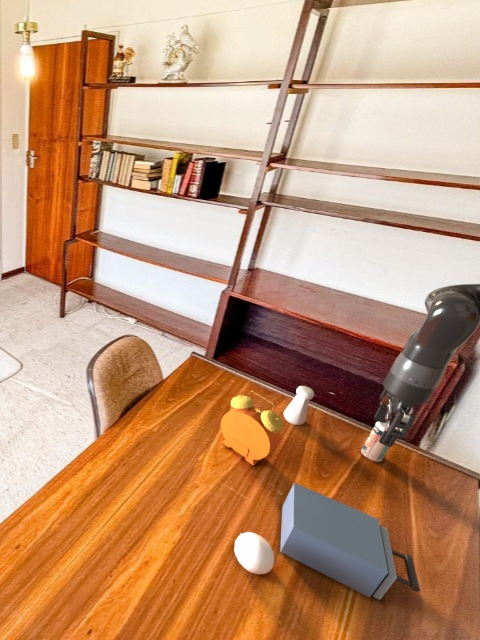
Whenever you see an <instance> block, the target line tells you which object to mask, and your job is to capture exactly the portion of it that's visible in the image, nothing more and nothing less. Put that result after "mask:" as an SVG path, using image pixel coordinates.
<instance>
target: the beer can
mask: <svg viewBox="0 0 480 640" xmlns="http://www.w3.org/2000/svg"><path fill="white" fill-rule="evenodd" d="M386 424H387V422H386V423H382V422H379V421H376V422H375V424H374V426H373V428H372V429H371V432H370V433H369V435H368V437H367V438H366V440H365V442H364V444H363V445H362V447H361V450H360V452H361V454H362V455H363V456H364V457H365V458H367V459H368V460H370V461H373V462H376V463H379V462H382V461H383V459H384V458H385V456H386V454H387V453H388V452H389V450H390V448H391V447H388V446H386V445H383V444H380V442H379V439H380V437H381V435H382V433H383V432H384V430H385V427H386ZM395 429H398V428H397V427H396V428H395Z"/></svg>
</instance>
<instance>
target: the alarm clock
mask: <svg viewBox="0 0 480 640" xmlns="http://www.w3.org/2000/svg"><path fill="white" fill-rule="evenodd" d="M251 392H252V393H253V394H255V395H257V396H258V397H260V398H262V399H264V400H265V401H267V402H268V403H270V404H272V405H273V407H272V409H271V410H270V409H269V410H264V409H262V408H260V407H259V406H256V405H255V401H254V400H253V398H252V397H250V394H251ZM230 406H231V407H232V409H231V410H229V411H228V412H226V413H225V414H223V416H222V418H221V420H220V430H221V434H222V436H223V438H224V440H223V441H221V443H222V444H224V446H226V447H227V448H231V449H232V450H234V452H236V453H237V454H239V455H241V456H242V457H243V458H244V459H245V461H246V462H247V463H249V464H251V465H252V466H255V465H256V464H257V463H258V462H259V461H261V460H262V459H264V458H266V457H268V456H269V454H271V453H272V452H273V451H274V450H275V449H276V448H277V447H278V446H279V444H280V440H281V433H280V432H281V431H282V430H283V428H284V422H283V419H282V417H281V416H280V415H279V414H278V413H276V411H274V408H275V404H274V402H271V401H270V400H269V399H267V398H265V397H263V396H262V395H260V394H258V393H257V392H255V391H253V390H250V391H249V393H248V395H241V394H239V395H238V396H234V397H232V398H231V400H230Z"/></svg>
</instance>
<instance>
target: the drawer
mask: <svg viewBox="0 0 480 640" xmlns="http://www.w3.org/2000/svg"><path fill="white" fill-rule="evenodd" d="M380 530H381V535H382V541H383V546H384V551H385V557H386V562H387V568H388V574H387V575H386V576H385V578H384V579H383V580H382V582H381V583H380V584H379V586H378V587H377V588H376V590H375V591H374V592H373V594H372V595H371V596H372V597H373V598H374V599H377V600H379V601H381V600H382V599H383V596H385V594H386V593H387V592H388V591H389V589H390V588H391V587H392V585H393V584H394V583H395V581H398V582H400V583H401V584H404V585H406V586H407V587H409V588H410V590H412V591H413V592H417V593H419V592H421V588H420V584H419V579H418V576H417V570H416V568H415V563H414V559H413V557H412V556H411V555H410V554H406V553H404V554H403V553H401V552H398V551H396V550H394V549H392V546H391V540H390V537H389V531H388V528H387V527H384V526H383V525H380ZM394 556H396V557H398V558H400V559H403V561H404V567H405V571H406V575H407V576H406V577H407V579H405V578H403V577H400V576H398V575H397V571H396V566H395V561H394V560H395V559H394Z"/></svg>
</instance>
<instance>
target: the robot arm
mask: <svg viewBox="0 0 480 640" xmlns="http://www.w3.org/2000/svg"><path fill="white" fill-rule="evenodd" d="M424 307H425V309H426V312H427V314H426V317H425V318H424V319H425V320H424V322H423V323H422V325H421V326H420V328H418V329H415V330H414V331H413V332H412V333H411V334H410V335H409V337H408V339H407V340H406V342H405V344H404V346H403V348H402V350H401V352H400V353H399V354H398V356H397V357H396V358H395V359H394V362H393V363H392V365H391V367H390V369H389V371H388V372H387V374H386V376H385V378H384V380H383V383H382V386H383V390H382V392H381V394H380V395H379V396H378V397H379V400H380V401H379V407H378V409H377V411H376V413H375V414H374V416H373V418H374V421H376V422H382V423H386V422H387V424H386V427H385V430H384V432H383V433H382V435H381V437H380V439H379V442H380V444H383V445H386V446H388V447H390V448H392V447H393V446H394V445H395V442H396V440H397V439H401V440H405V438H406V436H407V434H408V433H409V430H410V429H411V427H412V425H413V423H414V421H415V420H416V416H415V415H413V410H414V406H415V405H424V404H427V403H428V402H429V401H430V399H431V397H432V396H433V394H434V393H435V391H436V390H437V388H438V386H439V385H440V383H441V381H442V379H443V378H444V375H445V372H446V370H447V368H448V366H449V364H450V363H451V361H452V360H453V358H454V356H455V354H456V353H457V350H458V349H459V348H460V347H461V346H462V345H464V344H465V343H466V342H467V341H468V340H469V339H470V338H471V336H472V335H474V333H475V332H476V331H477V329H478V328H479V326H480V283H464V284H463V283H462V284H451V285H447V286H442V287H438V288H436V289H433V290H432V291H431V292H429V293H428V294H427V295H426V297H425V299H424ZM396 427H397V428H398V429H395V428H396Z"/></svg>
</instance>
